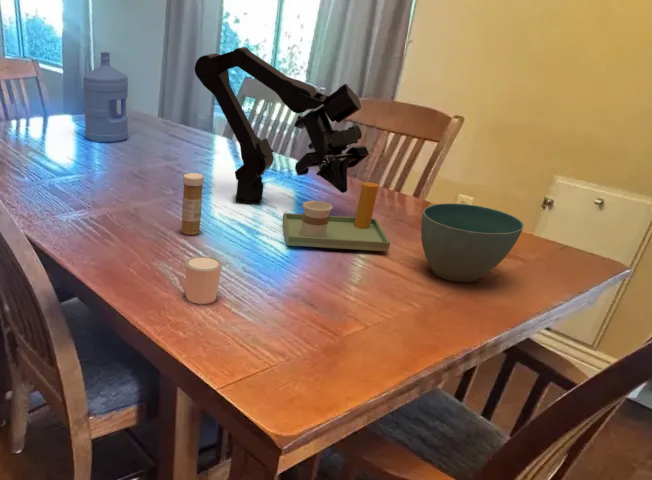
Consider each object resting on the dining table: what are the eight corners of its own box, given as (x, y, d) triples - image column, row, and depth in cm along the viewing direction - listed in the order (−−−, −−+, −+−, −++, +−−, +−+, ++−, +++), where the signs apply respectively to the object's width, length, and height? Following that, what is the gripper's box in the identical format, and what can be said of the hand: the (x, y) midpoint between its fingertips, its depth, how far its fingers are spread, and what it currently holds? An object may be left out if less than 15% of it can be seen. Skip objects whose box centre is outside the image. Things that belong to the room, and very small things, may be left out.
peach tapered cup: (180, 289, 118) (182, 255, 115) (215, 288, 119) (218, 255, 115) (185, 305, 113) (187, 270, 109) (222, 305, 113) (225, 270, 109)
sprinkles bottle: (194, 227, 147) (197, 171, 140) (203, 234, 144) (207, 176, 136) (177, 230, 145) (179, 173, 138) (186, 236, 142) (189, 178, 135)
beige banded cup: (299, 239, 137) (304, 209, 133) (297, 229, 143) (301, 200, 139) (328, 241, 137) (334, 210, 133) (325, 231, 142) (330, 201, 138)
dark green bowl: (389, 263, 131) (403, 208, 125) (453, 252, 137) (469, 198, 131) (455, 299, 117) (475, 238, 111) (522, 285, 123) (545, 226, 117)
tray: (287, 245, 136) (294, 197, 130) (282, 220, 150) (288, 176, 144) (388, 251, 134) (400, 203, 129) (374, 226, 148) (384, 181, 142)
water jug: (80, 141, 218) (76, 54, 203) (91, 132, 231) (88, 49, 216) (123, 144, 216) (122, 56, 201) (131, 134, 229) (131, 51, 214)
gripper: (311, 116, 137) (336, 178, 135) (371, 110, 145) (396, 169, 142) (283, 145, 147) (307, 203, 145) (341, 138, 155) (364, 193, 152)
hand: (344, 191), depth 146 cm, fingers closed
